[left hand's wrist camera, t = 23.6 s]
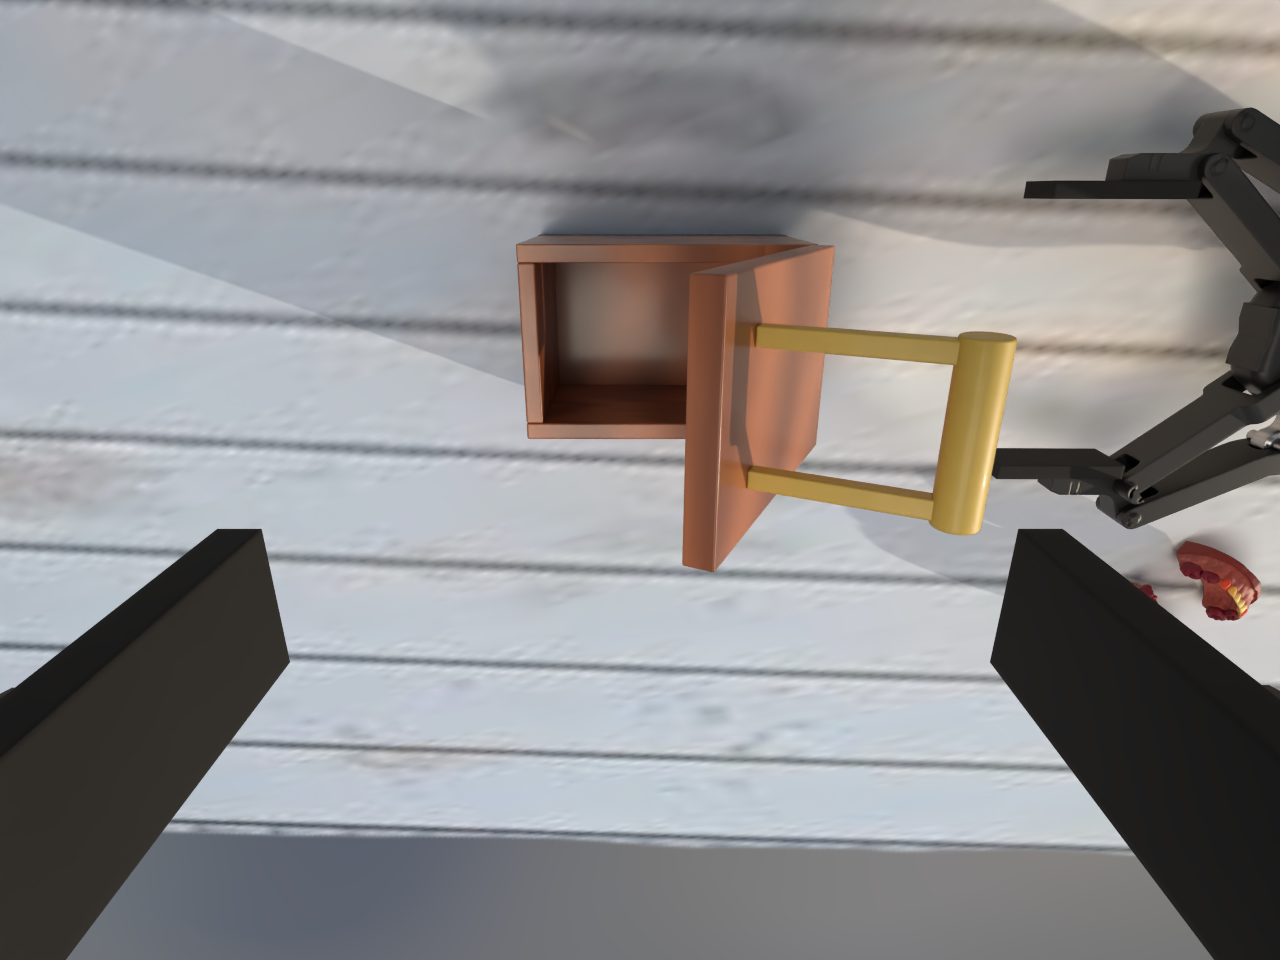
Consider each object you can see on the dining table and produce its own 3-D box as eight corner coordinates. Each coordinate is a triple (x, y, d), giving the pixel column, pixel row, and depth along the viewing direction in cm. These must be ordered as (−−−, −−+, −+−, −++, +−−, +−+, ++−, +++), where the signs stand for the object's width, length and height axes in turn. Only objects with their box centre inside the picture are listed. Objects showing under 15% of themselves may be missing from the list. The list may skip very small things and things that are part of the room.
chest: (548, 394, 44) (527, 439, 36) (540, 234, 40) (515, 243, 32) (772, 394, 44) (801, 439, 36) (783, 234, 40) (819, 244, 32)
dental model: (1289, 620, 44) (1166, 686, 46) (1238, 587, 48) (1126, 649, 50) (1252, 555, 43) (1126, 625, 45) (1203, 527, 47) (1089, 592, 49)
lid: (681, 565, 23) (965, 630, 20) (688, 273, 20) (1032, 289, 17) (793, 441, 35) (983, 468, 32) (809, 244, 32) (1024, 251, 28)
